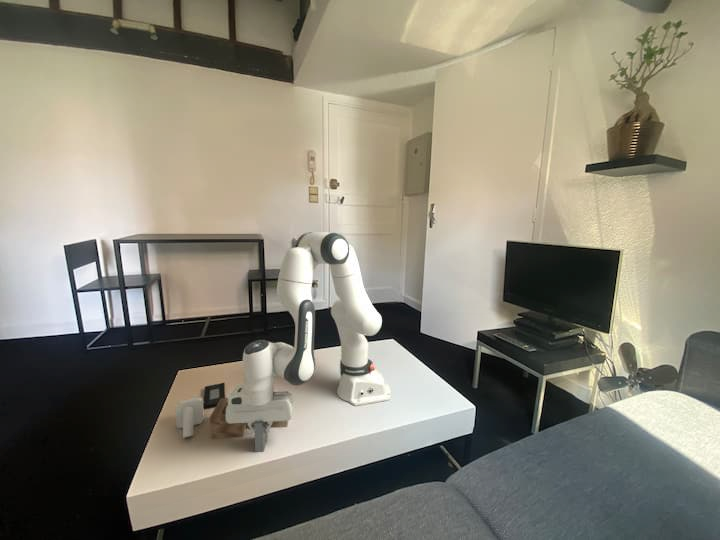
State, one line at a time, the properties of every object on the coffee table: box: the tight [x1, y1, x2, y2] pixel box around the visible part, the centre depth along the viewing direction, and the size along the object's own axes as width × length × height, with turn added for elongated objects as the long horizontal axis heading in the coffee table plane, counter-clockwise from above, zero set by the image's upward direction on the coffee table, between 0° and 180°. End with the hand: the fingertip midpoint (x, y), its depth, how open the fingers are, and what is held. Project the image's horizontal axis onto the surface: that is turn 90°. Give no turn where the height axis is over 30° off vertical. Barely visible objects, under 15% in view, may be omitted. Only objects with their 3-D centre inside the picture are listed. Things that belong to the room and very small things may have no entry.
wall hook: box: [175, 396, 205, 439], centre depth 102 cm, size 8×10×10 cm
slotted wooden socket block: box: [209, 397, 289, 439], centre depth 104 cm, size 24×10×8 cm, turn 95°
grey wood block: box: [254, 421, 269, 453], centre depth 95 cm, size 2×6×10 cm, turn 6°
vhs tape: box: [203, 382, 226, 411], centre depth 120 cm, size 8×14×2 cm, turn 25°
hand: (261, 431), depth 95 cm, fingers closed on grey wood block, 2 cm apart
